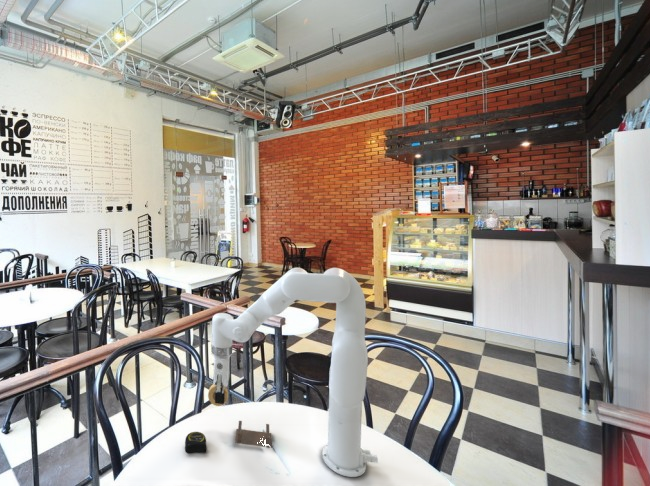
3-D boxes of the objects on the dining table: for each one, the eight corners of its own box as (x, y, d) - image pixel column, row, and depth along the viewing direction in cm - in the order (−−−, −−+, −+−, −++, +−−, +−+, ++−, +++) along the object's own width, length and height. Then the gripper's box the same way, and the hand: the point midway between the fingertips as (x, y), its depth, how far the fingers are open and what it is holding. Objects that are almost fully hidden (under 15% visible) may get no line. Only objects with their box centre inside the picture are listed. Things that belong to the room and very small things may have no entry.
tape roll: (229, 401, 118) (226, 381, 118) (229, 405, 115) (225, 385, 116) (210, 402, 119) (207, 383, 119) (209, 407, 116) (206, 387, 117)
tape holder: (271, 435, 113) (271, 424, 113) (271, 450, 106) (272, 438, 106) (236, 431, 115) (236, 420, 115) (234, 445, 108) (235, 433, 108)
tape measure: (184, 457, 102) (184, 445, 102) (185, 441, 109) (185, 430, 109) (206, 457, 103) (206, 445, 103) (206, 441, 110) (206, 430, 109)
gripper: (230, 360, 109) (228, 415, 109) (234, 341, 125) (232, 389, 125) (207, 358, 110) (206, 413, 110) (214, 339, 126) (213, 387, 126)
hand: (220, 399), depth 117 cm, fingers closed on tape roll, 2 cm apart
